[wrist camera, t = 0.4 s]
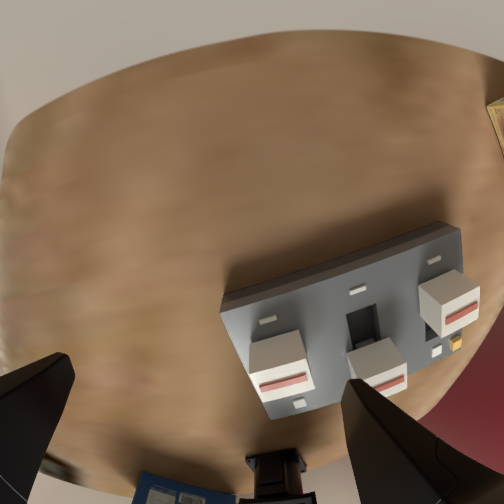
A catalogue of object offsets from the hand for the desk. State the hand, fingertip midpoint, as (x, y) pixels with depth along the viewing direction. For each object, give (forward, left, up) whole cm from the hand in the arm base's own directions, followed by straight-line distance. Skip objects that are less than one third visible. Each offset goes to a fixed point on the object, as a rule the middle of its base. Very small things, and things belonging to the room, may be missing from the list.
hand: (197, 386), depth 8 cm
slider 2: (-11, -8, -12) cm, 18 cm away
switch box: (-9, -8, -14) cm, 19 cm away
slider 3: (-7, -14, -12) cm, 20 cm away
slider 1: (-7, -1, -12) cm, 14 cm away
